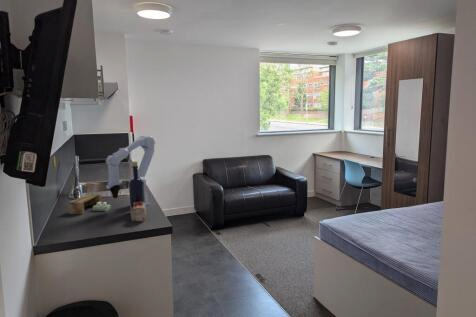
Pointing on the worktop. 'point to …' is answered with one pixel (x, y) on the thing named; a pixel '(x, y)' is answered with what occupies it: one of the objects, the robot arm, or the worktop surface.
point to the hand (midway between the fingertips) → (115, 197)
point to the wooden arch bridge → (83, 203)
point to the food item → (138, 212)
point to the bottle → (136, 187)
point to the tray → (101, 207)
